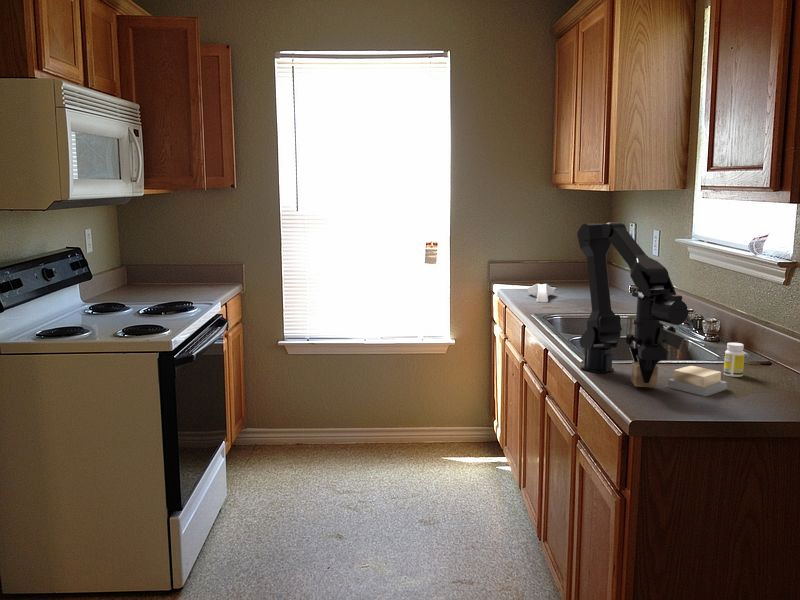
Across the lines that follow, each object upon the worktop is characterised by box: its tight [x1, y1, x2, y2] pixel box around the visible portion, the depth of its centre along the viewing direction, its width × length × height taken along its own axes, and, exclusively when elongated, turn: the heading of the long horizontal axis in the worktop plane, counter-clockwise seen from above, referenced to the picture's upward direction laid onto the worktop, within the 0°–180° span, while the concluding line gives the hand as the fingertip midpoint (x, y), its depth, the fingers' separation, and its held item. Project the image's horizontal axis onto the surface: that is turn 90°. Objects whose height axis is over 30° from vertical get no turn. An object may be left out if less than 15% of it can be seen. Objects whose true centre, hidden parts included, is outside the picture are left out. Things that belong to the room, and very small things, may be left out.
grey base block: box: [667, 377, 728, 397], centre depth 189 cm, size 10×10×2 cm
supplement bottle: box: [723, 342, 746, 378], centre depth 202 cm, size 5×5×8 cm
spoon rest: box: [526, 283, 555, 303], centre depth 327 cm, size 24×12×7 cm, turn 173°
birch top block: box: [672, 365, 722, 387], centre depth 188 cm, size 8×8×2 cm
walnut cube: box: [630, 361, 659, 388], centre depth 187 cm, size 5×5×5 cm
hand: (644, 379), depth 188 cm, fingers closed on walnut cube, 5 cm apart
